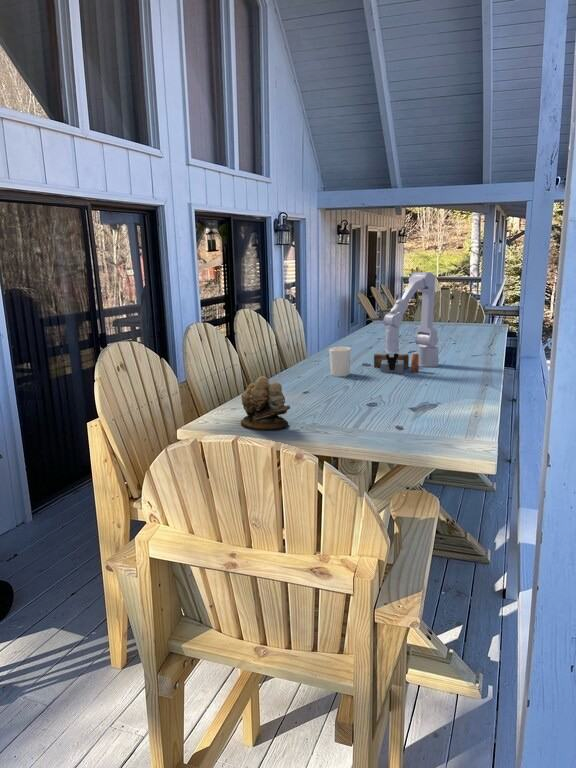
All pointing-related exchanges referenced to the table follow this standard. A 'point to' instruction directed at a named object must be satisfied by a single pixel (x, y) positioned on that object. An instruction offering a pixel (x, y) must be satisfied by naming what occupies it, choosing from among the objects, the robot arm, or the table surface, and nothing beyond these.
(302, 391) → the table surface
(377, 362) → the walnut wall
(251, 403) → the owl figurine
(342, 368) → the candle holder
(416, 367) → the dowel
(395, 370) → the socket block
